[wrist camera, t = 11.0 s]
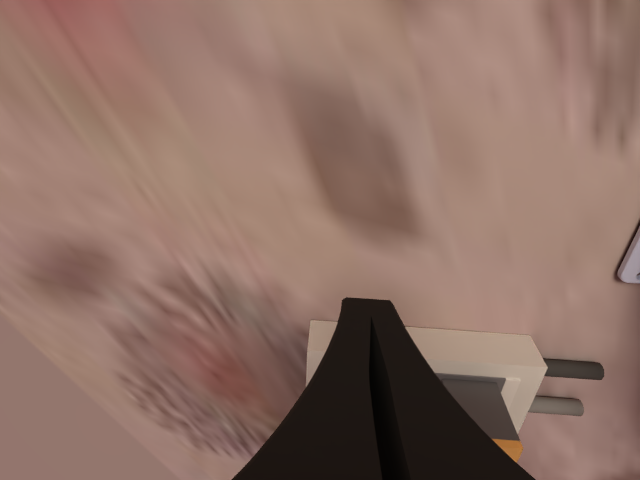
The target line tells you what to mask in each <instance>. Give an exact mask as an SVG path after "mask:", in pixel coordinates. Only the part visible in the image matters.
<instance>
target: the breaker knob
mask: <svg viewBox="0 0 640 480" xmlns="http://www.w3.org/2000/svg"><path fill="white" fill-rule="evenodd" d="M441 382H442V383H443V385H444V386H445V387H446V388H447V390H448V391H449V392H450V393H451V395H452V396H453V397H454V398H455V400H456V401H457V402H458V403H459V404H460V405H461V407H462V408H463V409H464V410H465V411H466V412H467V414H468V415H469V416H470V417H471V418H472V419H473V420H474V421H475V422H476V423H477V424H478V426H479V427H480V428H481V429H482V430H483V431H484V432H485V433H486V434H487V435H488V436H489V437H490V438H491V439H492V440H493V441H494V442H495V443H496V444H497V445H498V446H499V447H500V448H501V449H503V450H504V451H505V452H506V453H507V454H508V455H509V456H510V457H511V458H512V459H513V460H514V461H515V462H516V463H517V461H518V459H519V457H520V455H521V453H522V450H523V447H522V444H521V442H520V439H519V437H518V434H517V432H516V429H515V427H514V424H513V422H512V419H511V417H510V415H509V412H508V410H507V407H506V405H505V402H504V400H503V397H502V395H501V392H500V390H499V387H498V385H497V383H495V382H482V381H468V380H454V379H442V381H441Z"/></svg>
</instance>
